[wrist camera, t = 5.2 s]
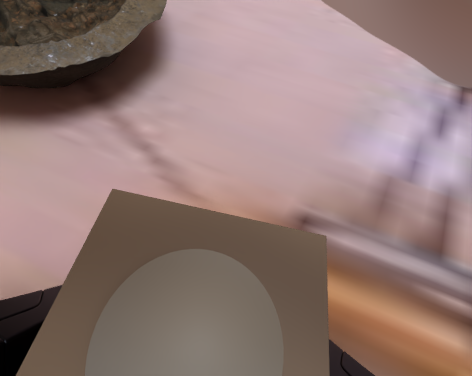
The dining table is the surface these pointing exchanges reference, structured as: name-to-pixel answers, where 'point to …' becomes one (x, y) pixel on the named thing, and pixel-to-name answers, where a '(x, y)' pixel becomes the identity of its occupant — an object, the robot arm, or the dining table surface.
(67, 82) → the stone bowl
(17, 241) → the dining table surface
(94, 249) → the pepper mill
